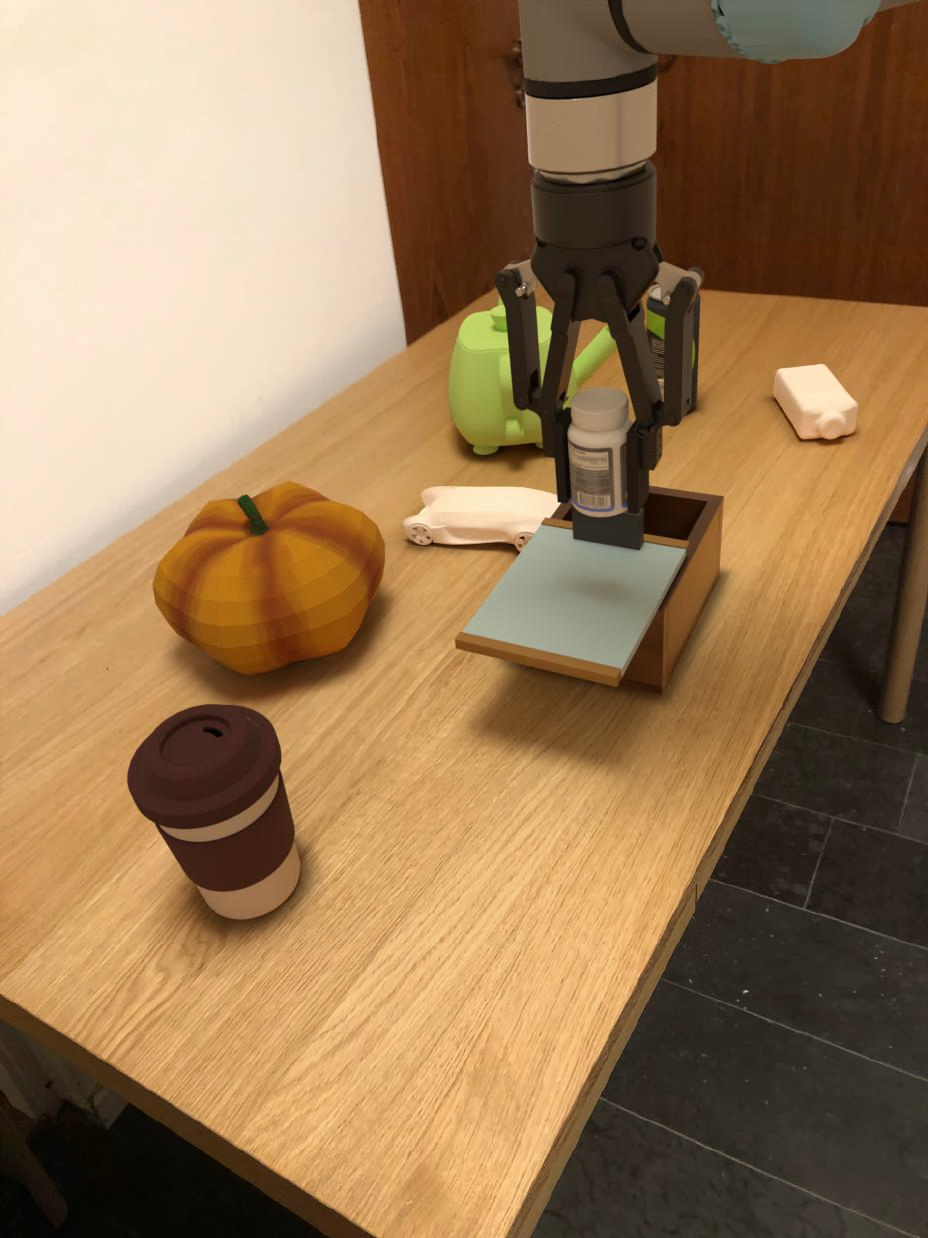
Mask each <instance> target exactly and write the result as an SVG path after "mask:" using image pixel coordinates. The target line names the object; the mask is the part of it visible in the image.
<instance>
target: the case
mask: <svg viewBox="0 0 928 1238" xmlns="http://www.w3.org/2000/svg"><path fill="white" fill-rule="evenodd" d="M724 503H725V496H723V495H719V494H712V493H704V492H698V491H690V490H685V489H684V490H683V489H676V488H669V487H662V486H655V485H649V496H648V498H647V500H646V501H645V503H644V505H643V506H642V508H644V534H648V535H654V536H660V537H666V538H672V539H678V540H684V541H689V552H688V553H687V555H686V557H685V559H684V561H683V563H682V565H681V567H680V569H679V570H678V572H677V574H676V576H675V578H674V580H673V582H672V584H671V586H670V588H669V589H668V591H667V593H666V595H665V597H664V599H663V601H662V603H661V605H660V606H659V608H658V610H657V612H656V614H655V616H654V618H653V620H652V622H651V623H650V625H649V627H648V629H647V631H646V633H645V635H644V637H643V639H642V640H641V642H640V644H639V646H638V648H637V650H636V652H635V654H634V656H633V658H632V659H631V661H630V663H629V665H628V667H627V669H626V671H625V673H624V675H623V676H622V678H621V680H620V682H619V684H618V686H623V687H628V688H632V689H636V690H640V691H644V692H649V693H652V694H657V695H661V696H663V695H664V692H665V690H666V689H667V687H668V684H669V682H670V680H671V677H672V676H673V674H674V671H675V670H676V667H677V665H678V664H679V661H680V659H681V657H682V655H683V653H684V650H685V649H686V646H687V645H688V642H689V640H690V638H691V636H692V633H693V632H694V629H695V627H696V625H697V623H698V621H699V620H700V617H701V615H702V612H703V611H704V609H705V606H706V604H707V602H708V600H709V598H710V597H711V596H710V595H711V594H712V591H713V590H714V588H715V585H716V584H717V581H718V579H719V577H720V571H721V554H722V536H723V521H724V520H723V519H724ZM571 505H572V499H570V500H569V501H568V503H567V504H565V503H561V504H560V505H559V506H558V508H557V509H556V511H555V512H554V513H553V515H552V516H551V517H550V518H552V519H558V520H564V521H570V522H572V507H571Z"/></svg>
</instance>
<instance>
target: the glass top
mask: <svg viewBox="0 0 928 1238" xmlns="http://www.w3.org/2000/svg"><path fill="white" fill-rule="evenodd" d="M571 507H572V522H570V521H564V520H558V519H552V518H544V520H543V521H542V522H541V526H540V527H539V528H538V530H537V531H536V532H535V534H534V535H533V536H532V537H531V539H530V540H529V542H528V543H527V542H526V543H527V544H526V546H525V547H524V549H523V550H522V551H521V552H520V553H519V554H518V555H517V556H516V558H515V559H514V561H513V562H512V563H511V565H510V566H509V567H508V569H507V570H506V571H505V573H504V574H503V575H502V577H501V578H500V579H499V581H498V582H497V583H496V585H495V586H494V588H492V590H491V592H490V593H489V594H488V596H487V597H486V599H484V601H483V603H482V604H480V606H479V608H478V609H477V610H476V611H475V613H474V615H473V616H472V617H471V619H470V620H469V621H468V622H467V623H466V625H465V626H464V628H463V629H462V630H461V631H459V633H458V634H457V635H456V636H455V637H454V644H455V649H456V650H459V651H460V650H461V651H465V652H468V653H473V654H477V655H480V656H481V655H482V656H486V657H490V658H493V659H498V660H502V661H506V662H511V663H515V664H518V665H524V666H527V667H532V668H536V669H540V670H545V671H549V672H553V673H557V674H561V675H564V676H570V677H574V678H577V679H582V680H585V681H590V682H595V683H598V684H603V685H608V686H612V687H614V688H615V687H616V688H617V687H618V686H619V685H618V684H619V682H620V680H621V678H622V676H623V675H624V673H625V671H626V669H627V667H628V665H629V663H630V661H631V659H632V658H633V656H634V654H635V652H636V650H637V648H638V646H639V644H640V642H641V640H642V639H643V637H644V635H645V633H646V631H647V629H648V627H649V625H650V623H651V622H652V620H653V618H654V616H655V614H656V612H657V610H658V608H659V606H660V605H661V603H662V601H663V599H664V597H665V595H666V593H667V591H668V589H669V588H670V586H671V584H672V582H673V580H674V578H675V576H676V574H677V572H678V570H679V569H680V567H681V565H682V563H683V561H684V559H685V557H686V555H687V553H688V552H689V541H684V540H678V539H672V538H666V537H660V536H654V535H648V534H644V508H641V510H640V511H639V513H638V514H632V513H628V510H626V511H624V512H622V513H620V514H617V515H614V516H609V517H592V516H588V515H585V514H583V513H581V512H579V511H578V510H577V509H576V508H575V507H574V506H573V504H572V505H571Z"/></svg>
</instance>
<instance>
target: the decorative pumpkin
mask: <svg viewBox="0 0 928 1238" xmlns="http://www.w3.org/2000/svg"><path fill="white" fill-rule="evenodd" d="M385 563H386V543H385V541H384V538H383V535H382V533H381V532H380V529H379V526H378V524H376V523H375V522H374V521H373V520H372V519H371V518H370V517H369V516H367V515H366V513H365V512H363V511H362V510H360V509H358V508H356V507H354V506H352V505H348V504H345V503H342V502H338V501H334V500H332V499H330V498H328V497H327V496H325V495H323V493H321V492H319V491H317V490H315V489H312V488H310V487H308V486H306V485H303V484H301V483H298V482H294V481H291V480H288V481H285V482H283V483H280V484H278V485H275V486H273V487H271V488H268V489H267V490H264V491H263V492H260V493H258V494H257V495H254V496H253V497H251V496H250V495H249V494H247V493H246V494H242V495H241V496H239V497H233V498H223V499H215V500H214V499H213V500H209V501H208V502H207V503H206V504H205V505H204V506H203V508H201V510H200V511H199V513H197V515H196V516H195V517H194V518H193V520H192V521H191V522H190V523H189V525H188V527H187V529H186V530H185V533H184V534H183V536H182V538H179V540H178V541H177V542H176V543H175V544H174V545H173V546H172V547H171V548H170V549H169V550H168V551H167V552H166V554H164V556H163V557H162V558H161V560H160V561H159V562H158V564H157V567H156V568H155V569H156V570H155V574H154V577H153V580H152V584H151V585H152V591H153V598H154V603H155V606H156V607H157V608H158V610H159V612H160V613H161V615H162V616H163V618H164V619H165V621H166V622H167V623H168V625H169V626H170V627H171V628H172V630H173V631H174V633H176V634H177V635H178V636H179V637H181V638H182V639H184V640H185V641H187V642H188V643H190V644H191V645H193V646H194V647H196V648H198V649H199V650H201V651H203V652H204V653H206V655H208V656H210V657H211V658H212V659H214V660H215V661H216V662H218V663H220V664H221V665H222V666H224V667H226V668H228V669H231V670H232V671H235V672H238V673H239V674H242V675H250V676H251V675H254V676H255V675H261V674H264V673H268V672H272V671H275V670H278V669H281V668H283V667H285V666H288V665H290V664H293V663H295V662H298V661H304V660H305V661H306V660H310V659H316V658H323V657H324V656H328V655H331V654H335V653H338V652H340V651H341V650H343V649H344V648H346V647H347V646H348V645H349V644H350V642H351V641H352V639H353V638H354V637H355V635H356V634H357V632H358V631H359V629H360V627H361V625H362V622H363V620H364V618H365V615H366V613H367V610H368V608H369V606H370V605H371V603H372V601H373V600H374V598H375V596H376V595H377V592H378V589H379V587H380V585H381V582H382V580H383V578H384V571H385Z"/></svg>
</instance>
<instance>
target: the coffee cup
mask: <svg viewBox="0 0 928 1238" xmlns="http://www.w3.org/2000/svg"><path fill="white" fill-rule="evenodd" d="M128 765H129V766H128V768H127V773H126V774H127V775H126V783H127V788H128V791H129V794H130V796H131V798H132V800H133V801H134V804H135V806H136V808H137V809H138V811H139V813H140V814H142V816H144V817H145V818H146V819H147V820H149V821H151V822H152V823H154V826H155V828H156V829H157V831H158V832H159V834H160V836H161V838H162V839H163V840H164V842H165V844H166V846H167V847H168V849H169V850H170V852H171V854H172V855H173V857H174V858H175V860H176V861H177V863H178V865H179V866H180V868H181V869H182V872H183V873H184V874H185V876H186V877H187V878H188V879H189V880H190V881H191V882H192V883H193V884H194V885H195V886H196V888H197V890H198V891H199V893H200V895H201V896H202V897H203V900H204V901H205V902H206V904H207V905H208V907H209V908H210V909H211V910H212V911H214V912H215V913H216V914H217V915H218V916H219V915H220V916H222V917H224V918H227V919H231V920H250V919H251V920H252V919H255V918H259V917H261V916H265V915H266V914H268V913H270V912H273V911H275V910H276V909H277V908H278V907H279V906H282V904H283V903H285V901H287V899H288V898H289V897H290V896H291V895H292V893H293V891H294V890H295V889H296V886H297V885H298V882H299V880H300V874H301V860H300V856H299V852H298V847H297V843H296V839H295V836H296V835H295V834H296V831H295V823H294V818H293V814H292V810H291V807H290V806H291V805H290V803H289V797H288V793H287V789H286V786H285V781H284V777H283V773H282V770H281V765H282V746H281V743H280V740H279V737H278V734H277V731H276V729H275V726H274V725H273V723H272V722H271V721H270V720H269V718H267V717H266V716H265V715H263V714H262V713H261V712H259V711H257V710H255V709H254V708H250V707H247V706H244V705H239V704H224V703H223V704H221V703H205V704H198V705H194V706H189V707H187V708H185V709H182V710H180V711H177V712H176V713H174V714H172V715H170V716H169V717H167V718H165V720H163V721H161V722H160V723H159V724H158V725H157V726H156V727H155V729H153V731H152V732H151V733H150V734H149V735H148V736H147V737H146V738H144V740H143V741H142V742H141V744H139V746H138V747H137V748H136V750H135V752H134V753H133V755H132V757H131V759H130V762H129V764H128Z"/></svg>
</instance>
